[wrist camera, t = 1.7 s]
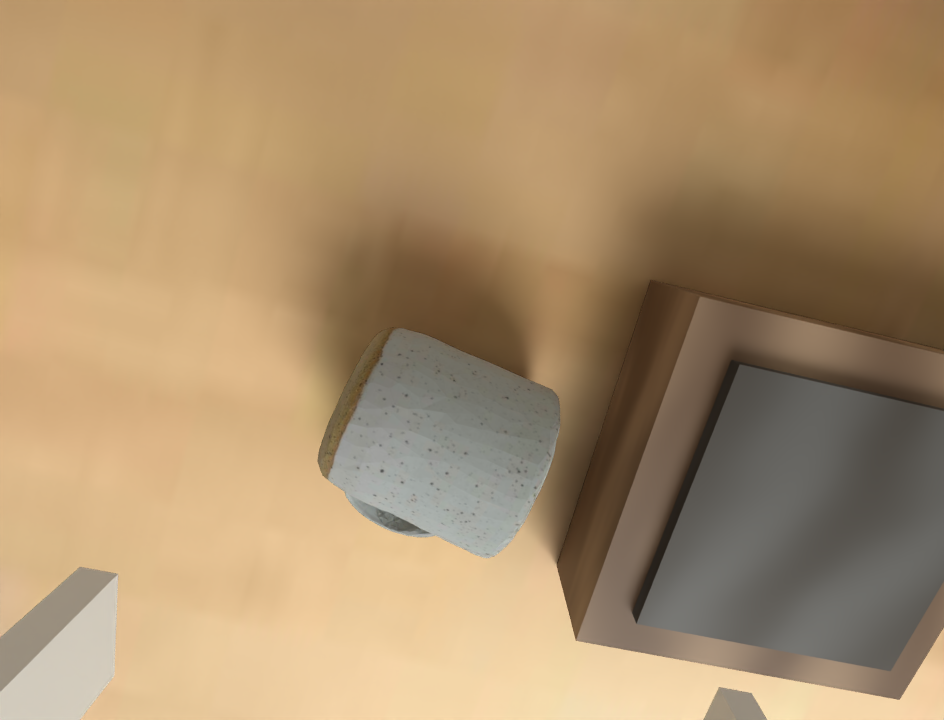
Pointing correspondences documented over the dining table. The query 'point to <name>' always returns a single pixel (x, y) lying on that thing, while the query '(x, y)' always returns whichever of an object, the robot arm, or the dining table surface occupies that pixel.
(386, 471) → the ceramic mug
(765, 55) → the dining table surface
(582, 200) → the dining table surface
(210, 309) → the dining table surface
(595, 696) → the dining table surface
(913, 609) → the walnut base
